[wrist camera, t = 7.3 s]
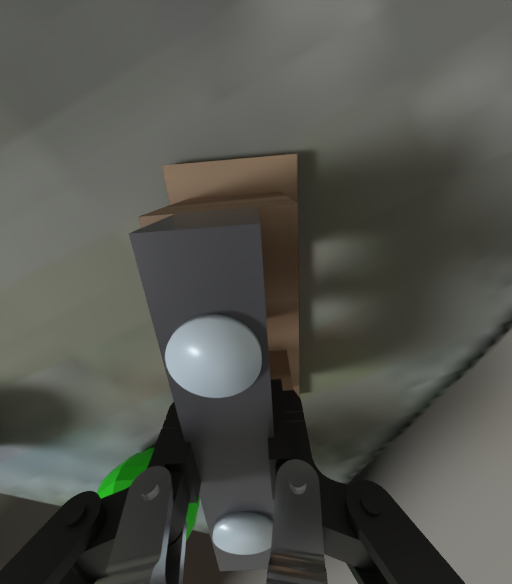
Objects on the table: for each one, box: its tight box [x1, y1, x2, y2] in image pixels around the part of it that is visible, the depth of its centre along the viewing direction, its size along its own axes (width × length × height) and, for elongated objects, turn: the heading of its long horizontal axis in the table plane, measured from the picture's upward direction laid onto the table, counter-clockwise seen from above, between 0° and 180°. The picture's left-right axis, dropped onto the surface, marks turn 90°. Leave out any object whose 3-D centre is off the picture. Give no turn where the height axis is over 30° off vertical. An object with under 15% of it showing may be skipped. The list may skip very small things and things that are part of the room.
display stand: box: [138, 154, 300, 398], centre depth 17 cm, size 20×8×8 cm, turn 4°
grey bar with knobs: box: [129, 207, 275, 571], centre depth 11 cm, size 16×3×4 cm, turn 4°
